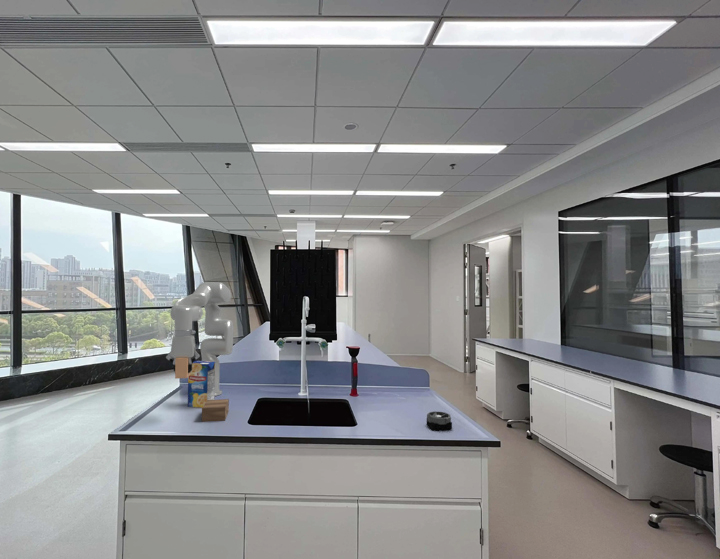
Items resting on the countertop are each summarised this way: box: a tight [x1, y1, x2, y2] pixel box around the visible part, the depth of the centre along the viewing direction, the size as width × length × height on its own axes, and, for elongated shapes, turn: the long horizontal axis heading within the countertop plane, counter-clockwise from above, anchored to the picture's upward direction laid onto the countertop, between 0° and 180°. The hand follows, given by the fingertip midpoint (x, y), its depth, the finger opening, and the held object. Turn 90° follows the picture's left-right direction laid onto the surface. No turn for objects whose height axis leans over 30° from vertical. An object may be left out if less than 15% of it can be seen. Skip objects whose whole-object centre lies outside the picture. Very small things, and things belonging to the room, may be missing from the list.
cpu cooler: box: [426, 410, 453, 432], centre depth 176 cm, size 10×6×10 cm
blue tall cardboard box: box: [187, 360, 216, 409], centre depth 206 cm, size 7×11×22 cm, turn 79°
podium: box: [201, 398, 230, 423], centre depth 188 cm, size 14×10×6 cm
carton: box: [174, 358, 190, 379], centre depth 186 cm, size 7×5×9 cm
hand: (182, 372), depth 186 cm, fingers closed on carton, 5 cm apart
